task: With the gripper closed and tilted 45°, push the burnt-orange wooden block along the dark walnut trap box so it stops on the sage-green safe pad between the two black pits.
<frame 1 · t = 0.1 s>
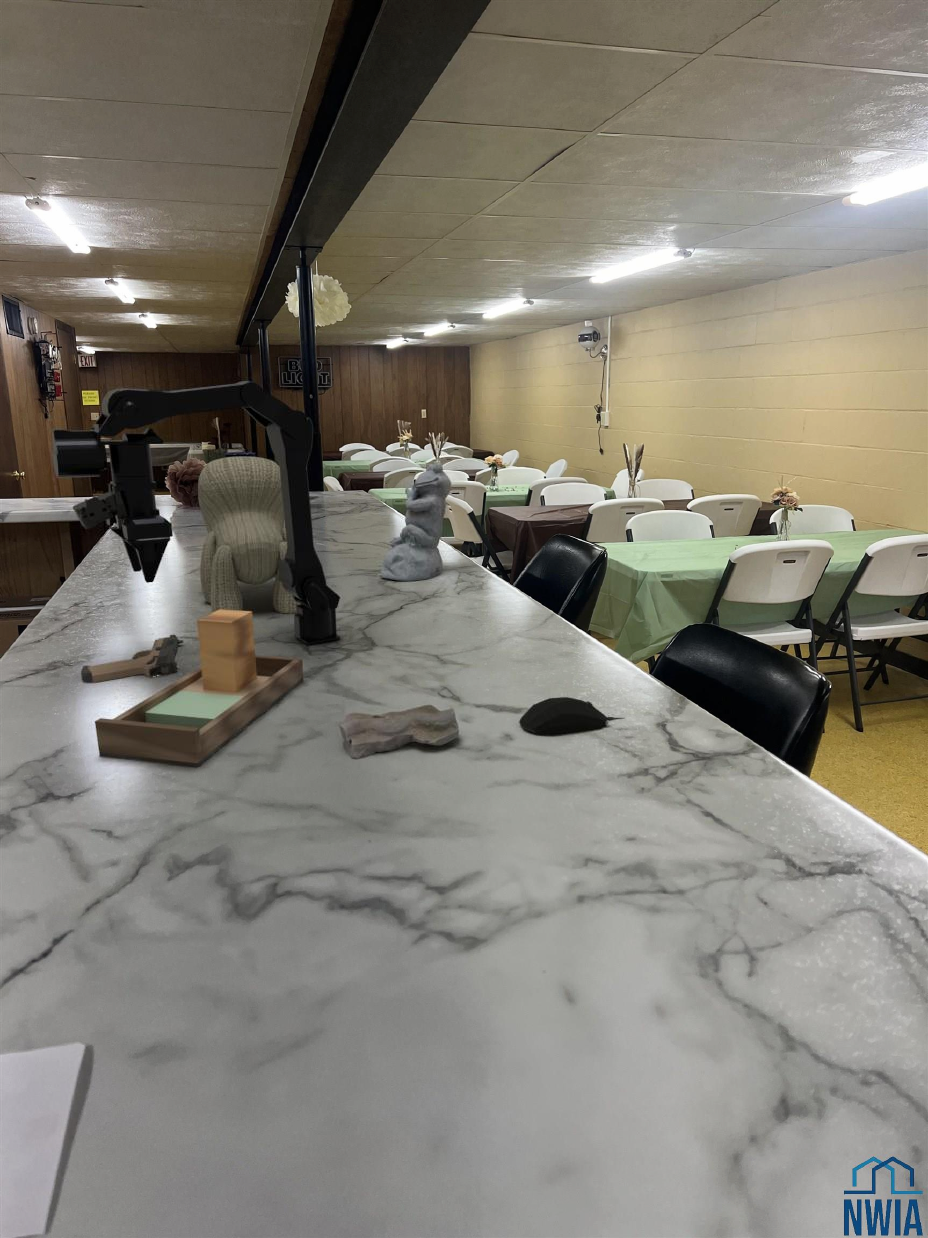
hand: (143, 576, 120), 15 cm above the bar counter, tool pointing down, fingers open, 9 cm apart
toy: (253, 601, 165), on the bar counter
block: (230, 683, 109), point 2 cm above the bar counter, touching trap box
gaming mouse: (573, 727, 103), on the bar counter
sculpture: (415, 574, 193), on the bar counter
safe pad: (202, 722, 102), resting on trap box
handgun: (136, 664, 127), on the bar counter
stone: (398, 742, 98), on the bar counter
trap box: (217, 710, 106), on the bar counter
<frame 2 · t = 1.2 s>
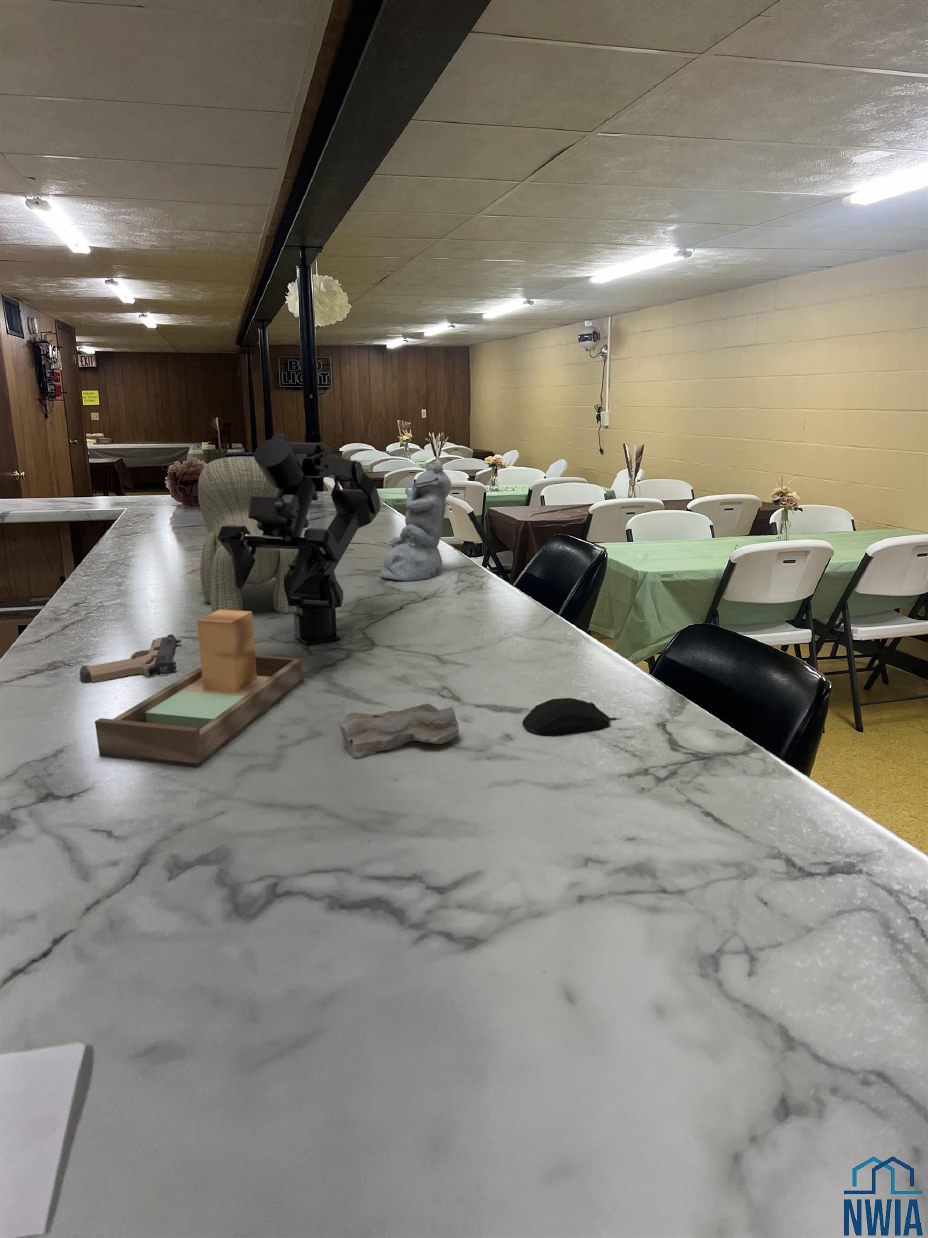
hand: (264, 589, 118), 13 cm above the bar counter, tool tilted 45°, fingers open, 8 cm apart
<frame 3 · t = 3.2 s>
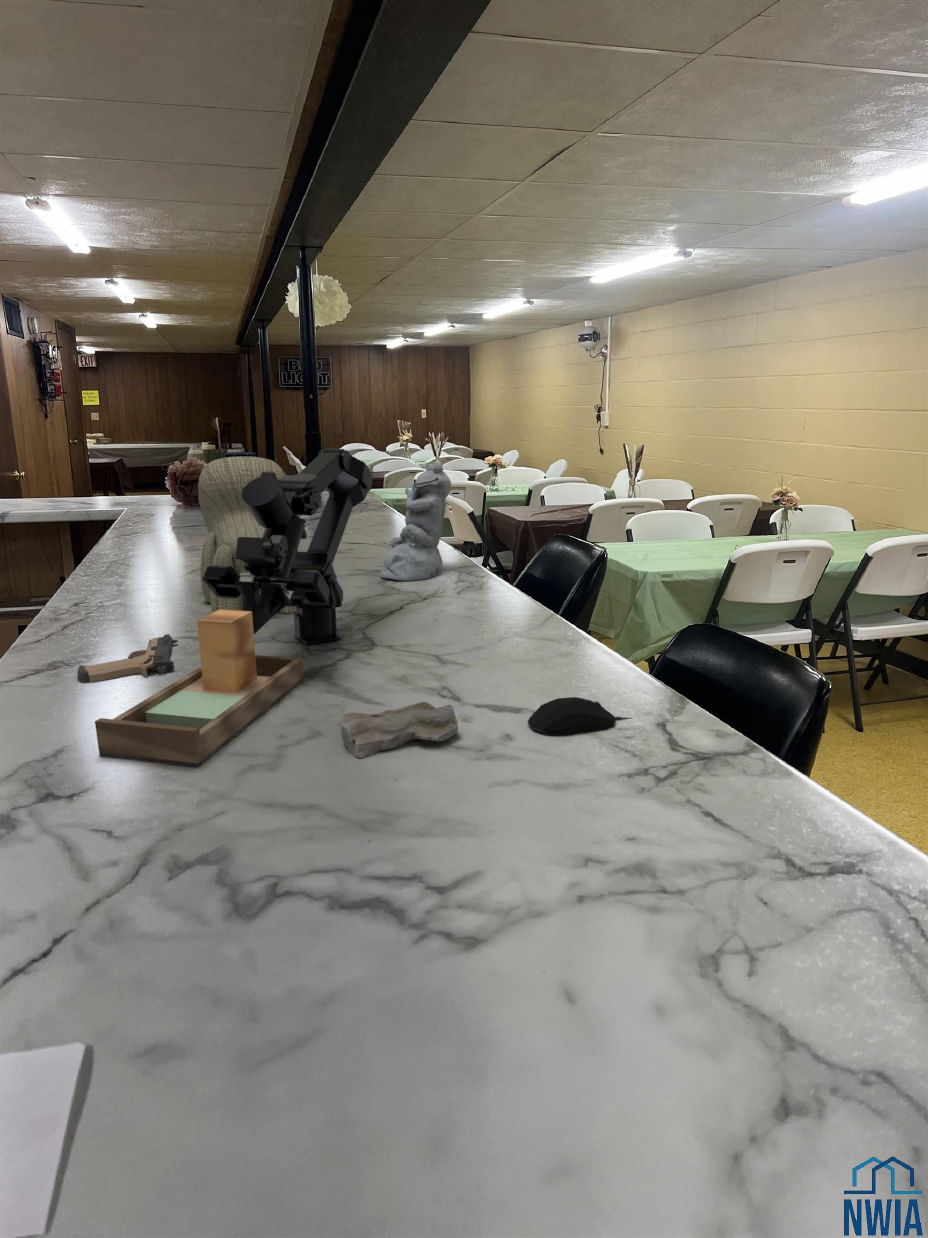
hand: (250, 632, 114), 8 cm above the bar counter, tool tilted 45°, fingers closed
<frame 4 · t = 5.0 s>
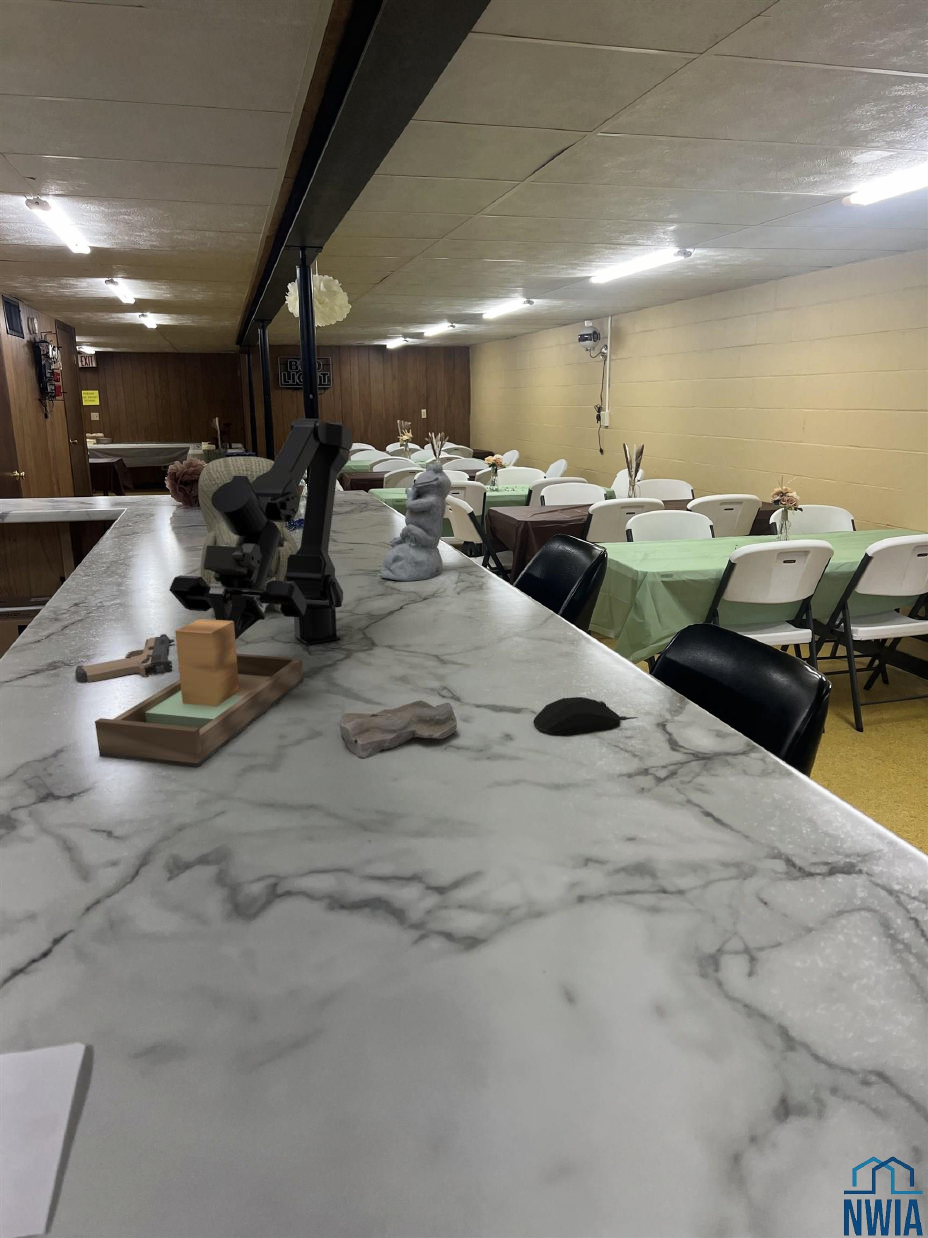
hand: (220, 648, 106), 8 cm above the bar counter, tool tilted 45°, fingers closed, pressing on block
block: (211, 696, 104), point 3 cm above the bar counter, touching gripper
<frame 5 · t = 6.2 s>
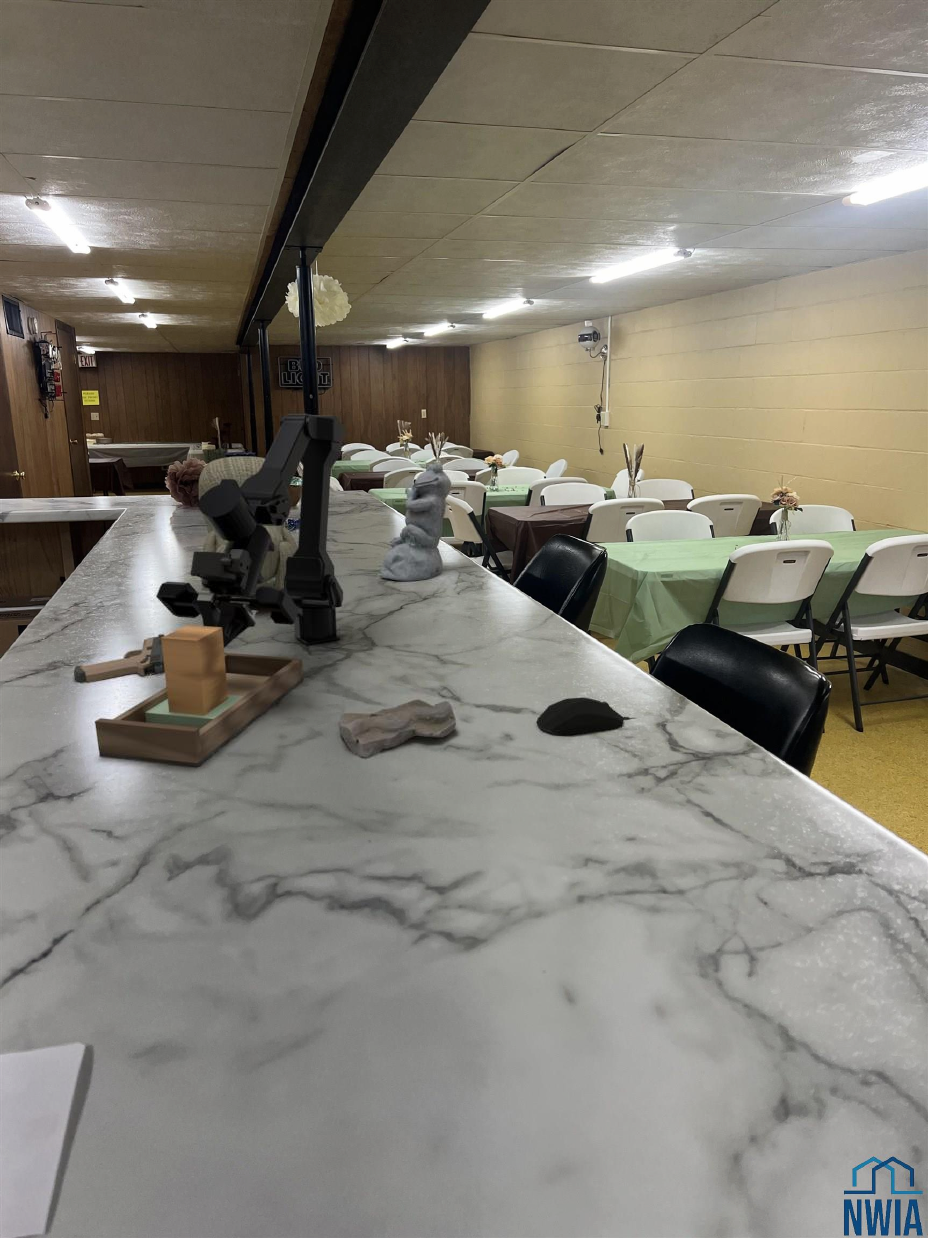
hand: (208, 657, 103), 8 cm above the bar counter, tool tilted 45°, fingers closed, pressing on block
block: (199, 705, 101), point 2 cm above the bar counter, touching gripper, safe pad
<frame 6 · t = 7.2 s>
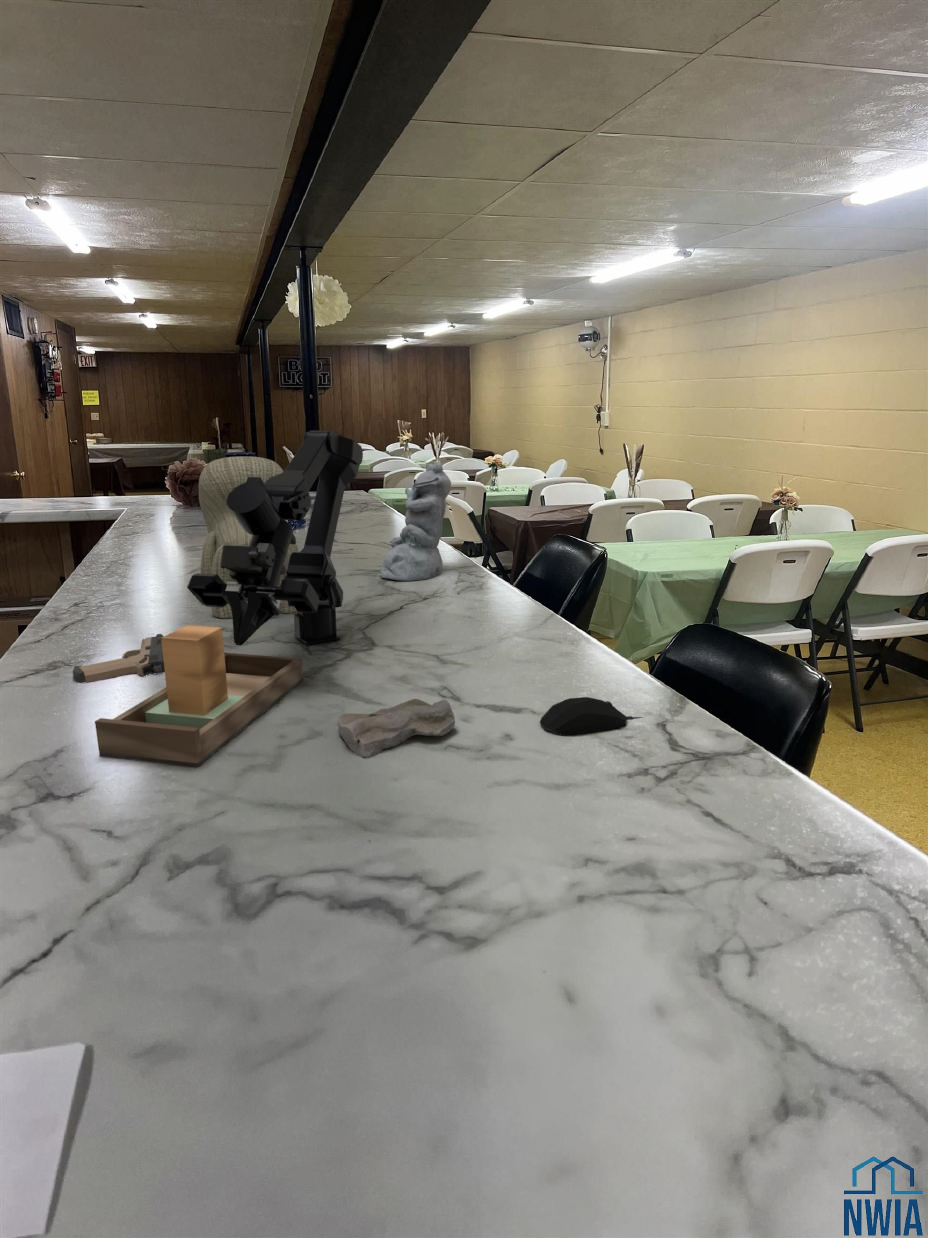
hand: (237, 644, 110), 8 cm above the bar counter, tool tilted 45°, fingers closed
block: (199, 705, 101), point 2 cm above the bar counter, touching safe pad
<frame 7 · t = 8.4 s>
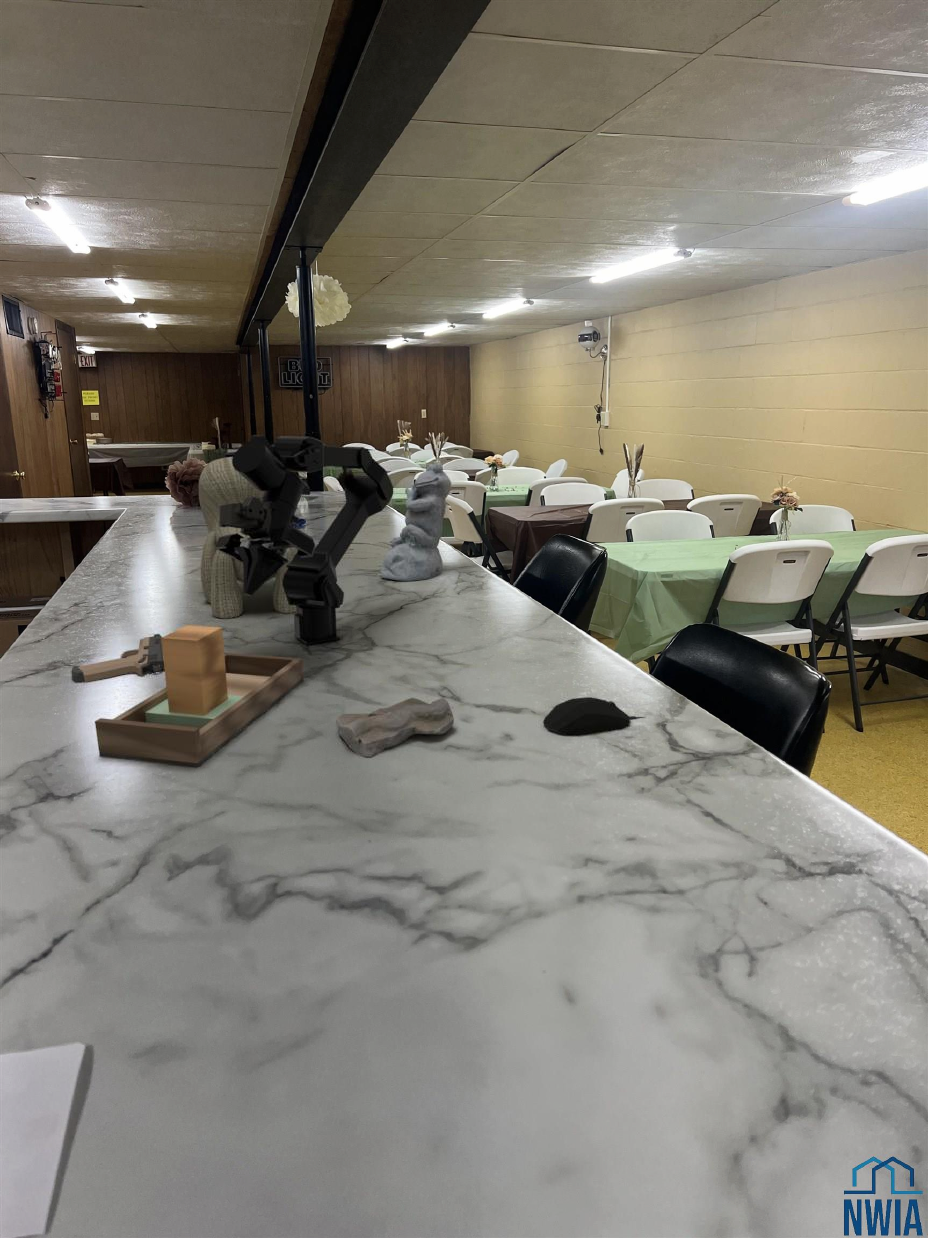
hand: (247, 594, 120), 12 cm above the bar counter, tool tilted 35°, fingers closed
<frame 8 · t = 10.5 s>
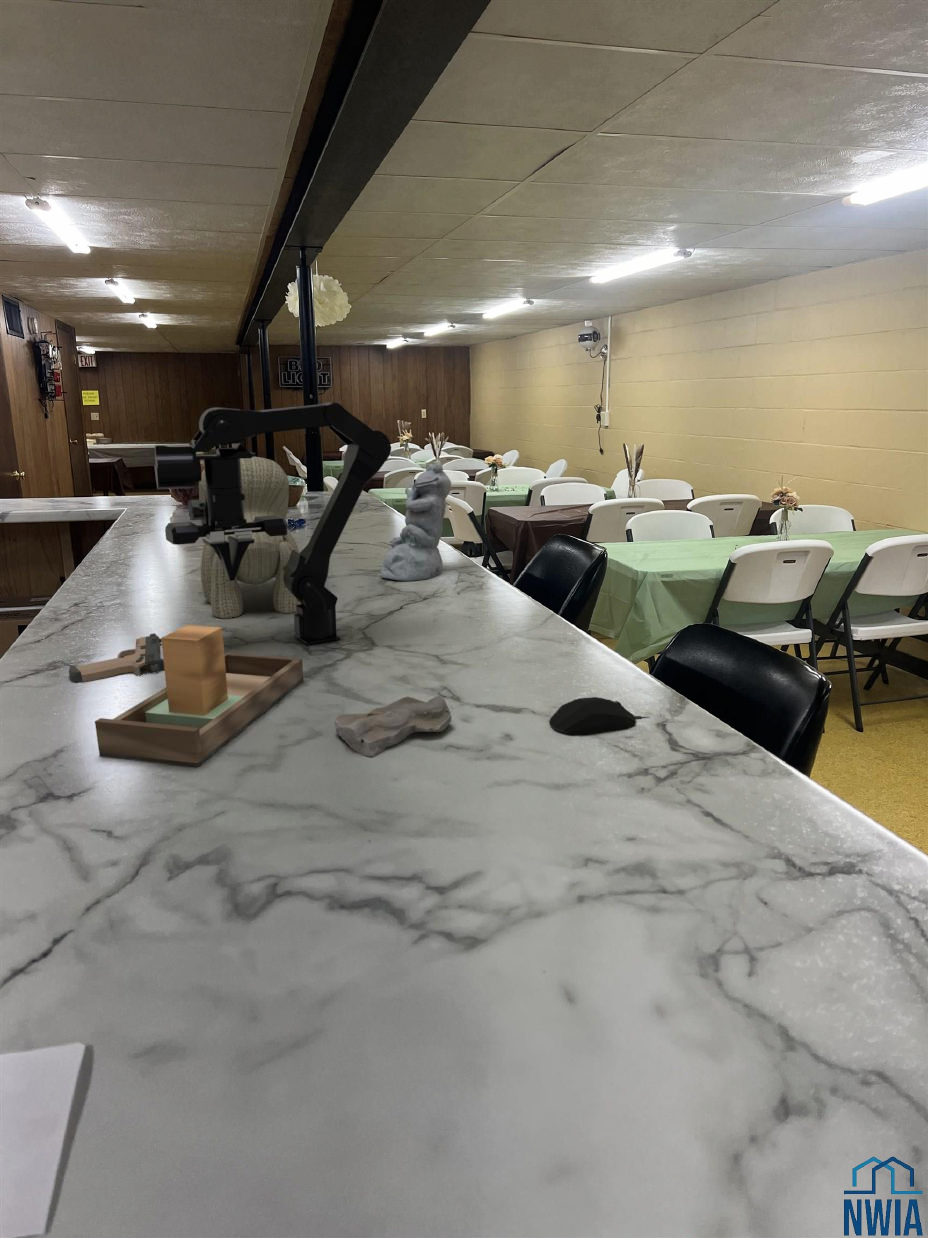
hand: (231, 580, 130), 12 cm above the bar counter, tool pointing down, fingers closed
at the end: block 0.3 cm from the safe pad (horizontally); block point 2.5 cm above the bar counter; block tilted 0° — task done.
